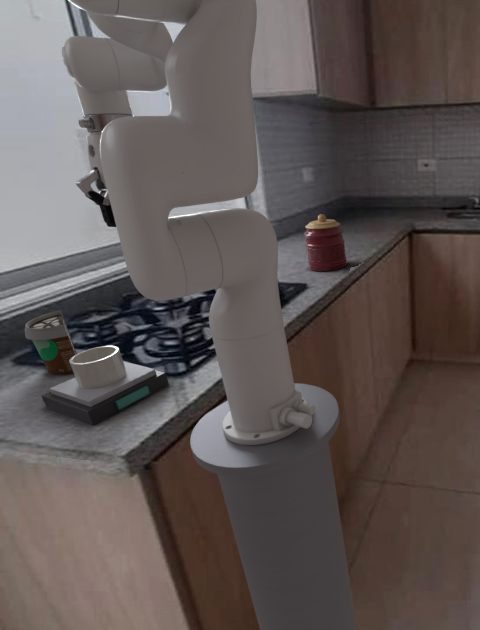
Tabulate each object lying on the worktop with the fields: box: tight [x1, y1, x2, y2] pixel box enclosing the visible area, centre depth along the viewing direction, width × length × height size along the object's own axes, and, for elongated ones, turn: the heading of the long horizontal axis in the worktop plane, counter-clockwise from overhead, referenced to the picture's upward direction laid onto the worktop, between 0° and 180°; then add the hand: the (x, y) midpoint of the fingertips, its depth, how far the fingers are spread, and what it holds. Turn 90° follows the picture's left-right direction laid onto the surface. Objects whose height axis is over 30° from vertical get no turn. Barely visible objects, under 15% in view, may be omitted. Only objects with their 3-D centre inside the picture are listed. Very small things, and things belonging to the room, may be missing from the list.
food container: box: [24, 310, 78, 376], centre depth 85 cm, size 12×6×10 cm, turn 40°
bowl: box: [69, 345, 126, 389], centre depth 74 cm, size 7×7×4 cm
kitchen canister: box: [303, 213, 348, 272], centre depth 147 cm, size 13×13×18 cm
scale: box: [41, 360, 170, 426], centre depth 75 cm, size 14×13×4 cm
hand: (139, 222), depth 86 cm, fingers open, 9 cm apart
